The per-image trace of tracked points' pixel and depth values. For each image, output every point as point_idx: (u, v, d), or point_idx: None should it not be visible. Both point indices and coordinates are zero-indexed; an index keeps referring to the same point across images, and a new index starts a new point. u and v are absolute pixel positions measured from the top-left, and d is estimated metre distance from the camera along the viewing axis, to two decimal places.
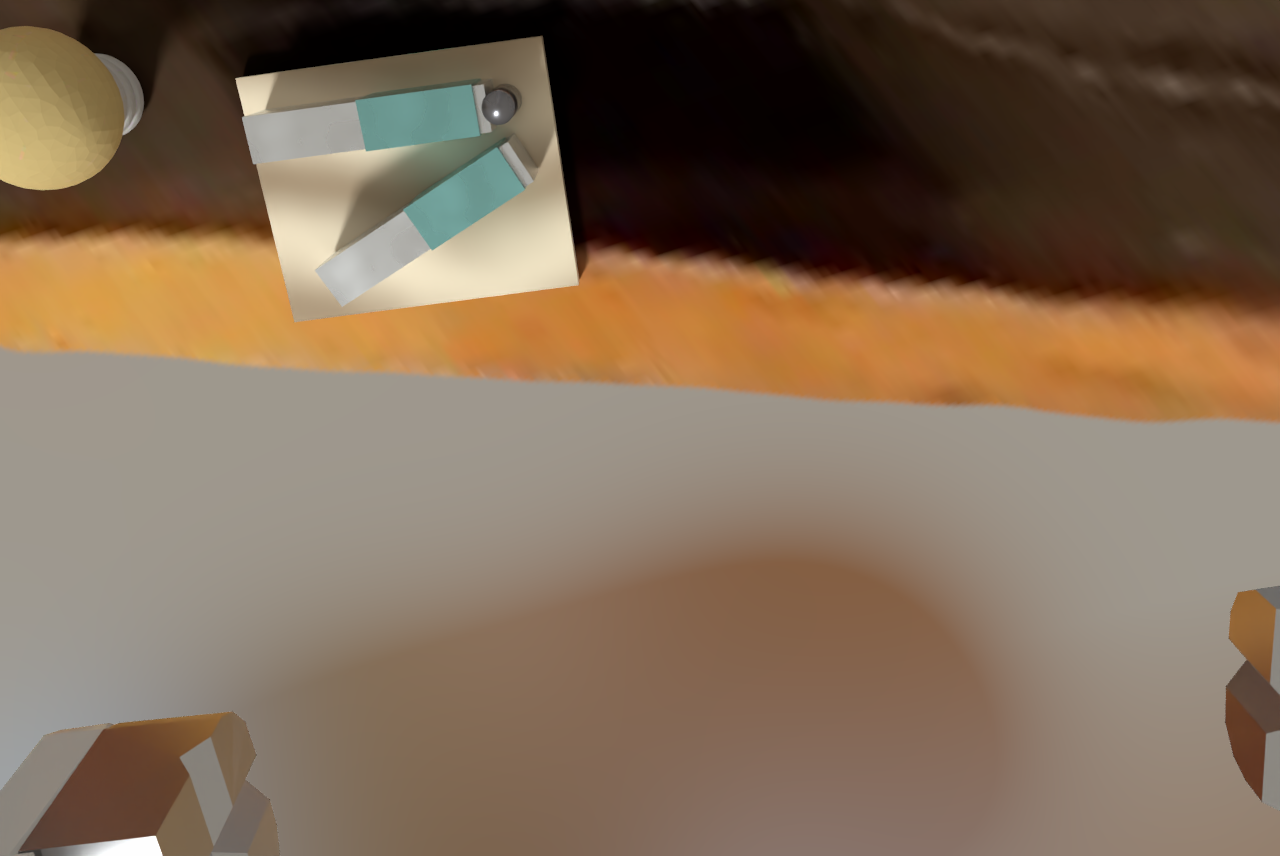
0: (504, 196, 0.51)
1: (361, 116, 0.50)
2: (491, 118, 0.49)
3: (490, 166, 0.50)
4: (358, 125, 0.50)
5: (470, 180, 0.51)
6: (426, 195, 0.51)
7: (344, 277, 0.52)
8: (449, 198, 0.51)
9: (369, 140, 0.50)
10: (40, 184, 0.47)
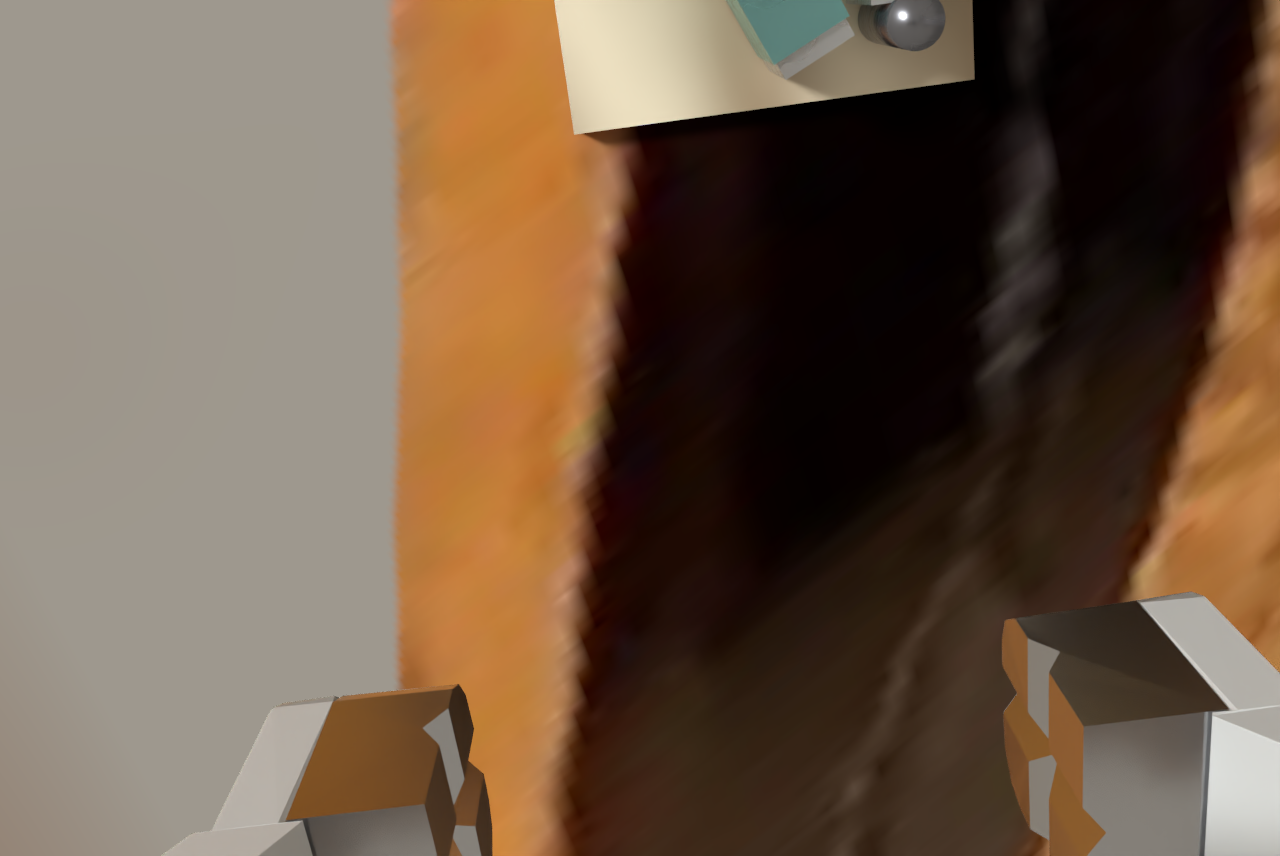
0: (763, 26, 0.29)
1: None
2: (901, 8, 0.29)
3: (817, 2, 0.29)
4: None
5: None
6: None
7: None
8: None
9: None
10: None
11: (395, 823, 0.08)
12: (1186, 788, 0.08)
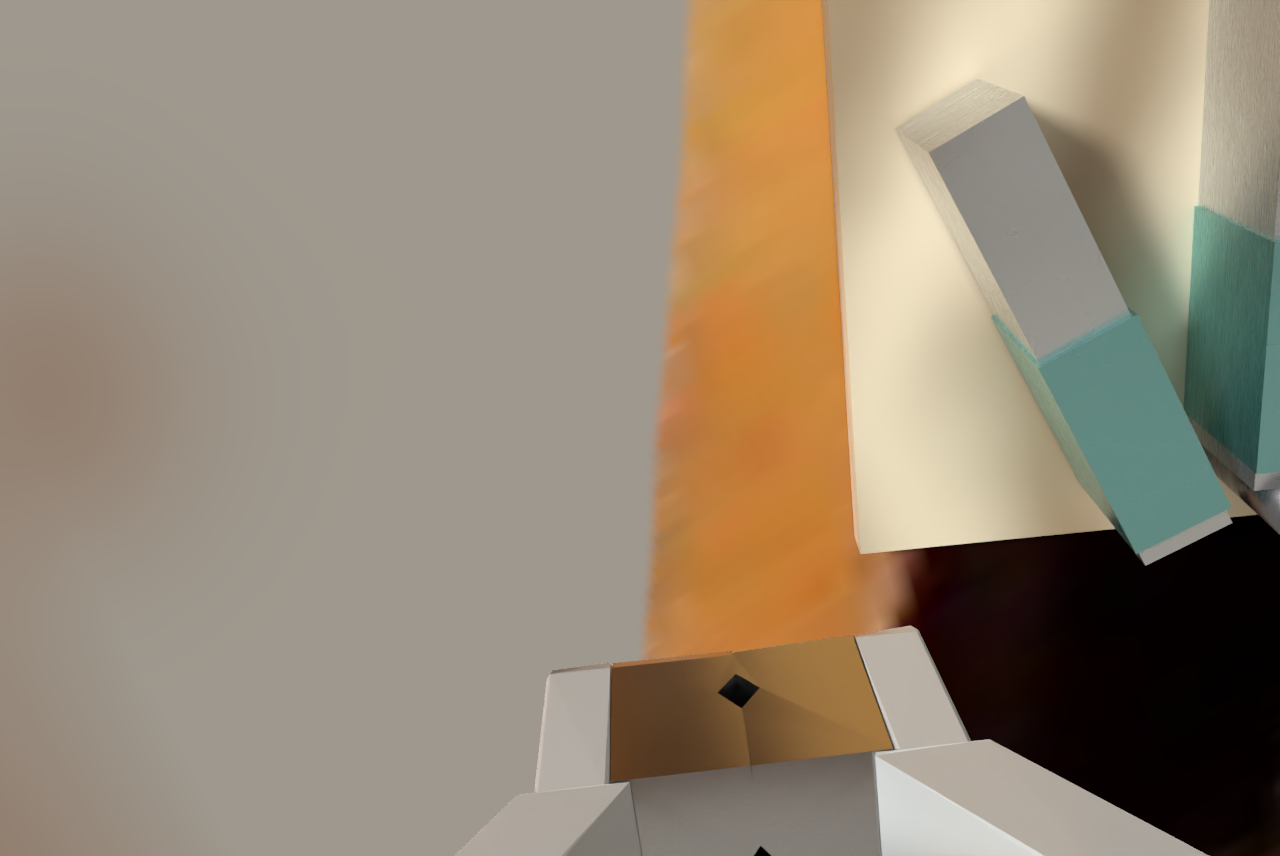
0: (1129, 516, 0.25)
1: None
2: None
3: (1195, 493, 0.25)
4: None
5: (1174, 454, 0.24)
6: (1159, 364, 0.24)
7: (999, 165, 0.22)
8: (1145, 411, 0.24)
9: None
10: None
11: (720, 786, 0.08)
12: (861, 825, 0.08)
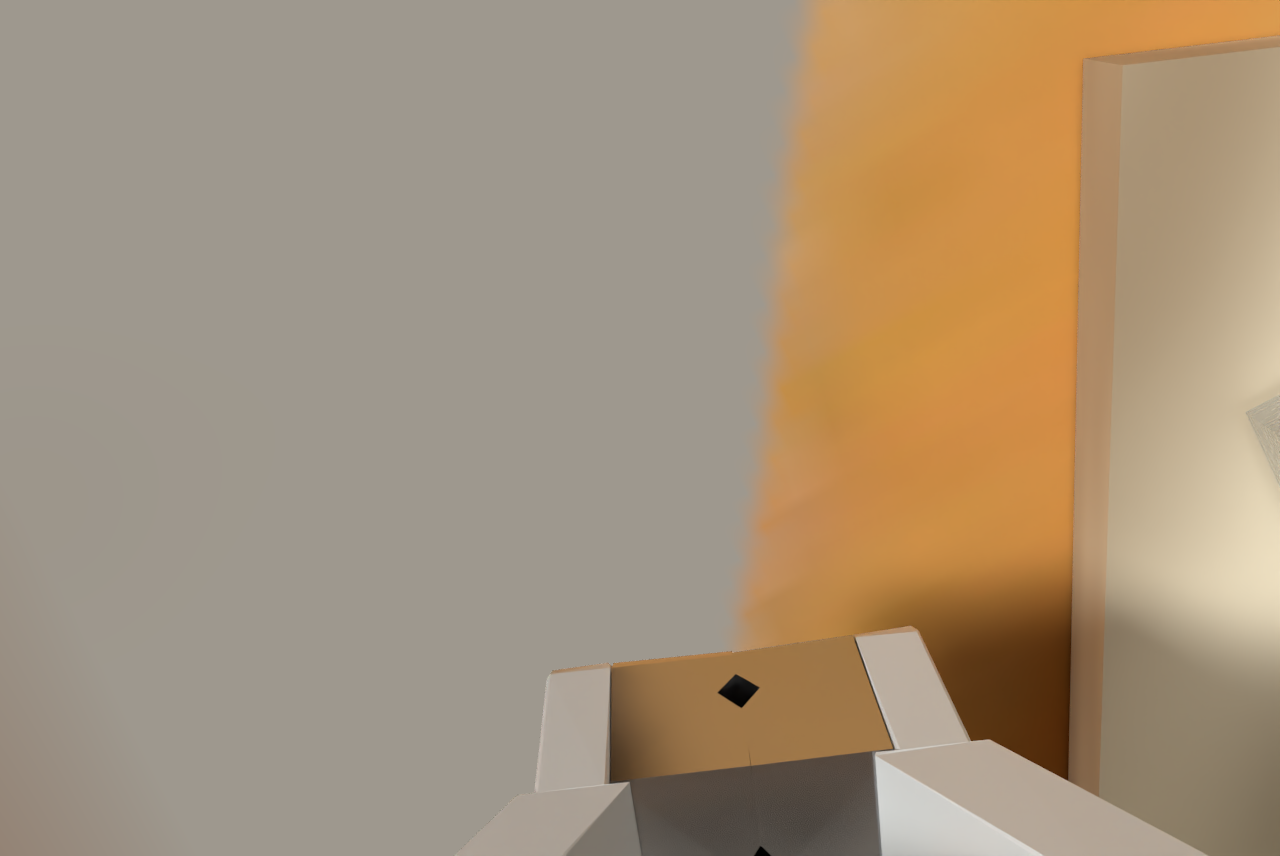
0: None
1: None
2: None
3: None
4: None
5: None
6: None
7: None
8: None
9: None
10: None
11: (720, 784, 0.08)
12: (860, 825, 0.08)
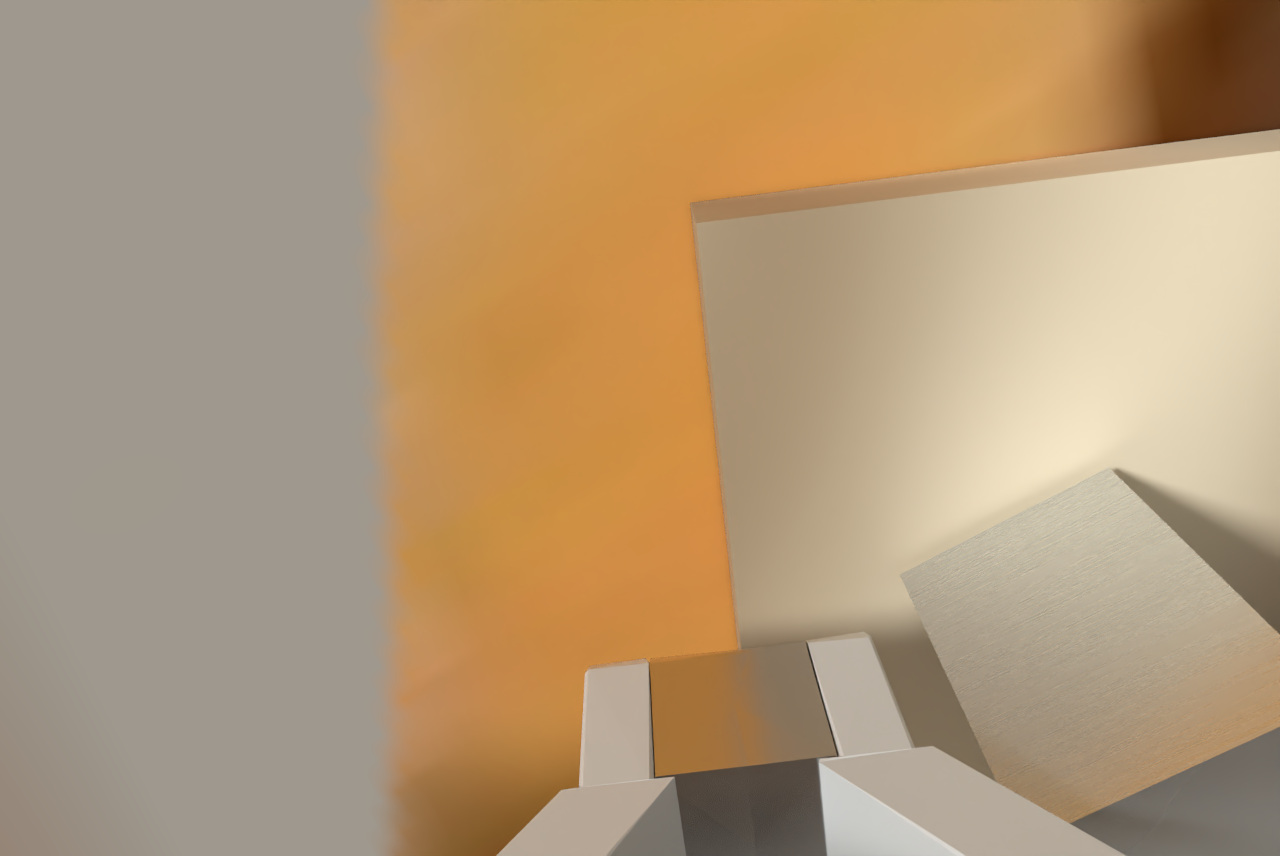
0: None
1: None
2: None
3: None
4: None
5: None
6: None
7: None
8: None
9: None
10: None
11: (765, 780, 0.08)
12: (806, 831, 0.08)
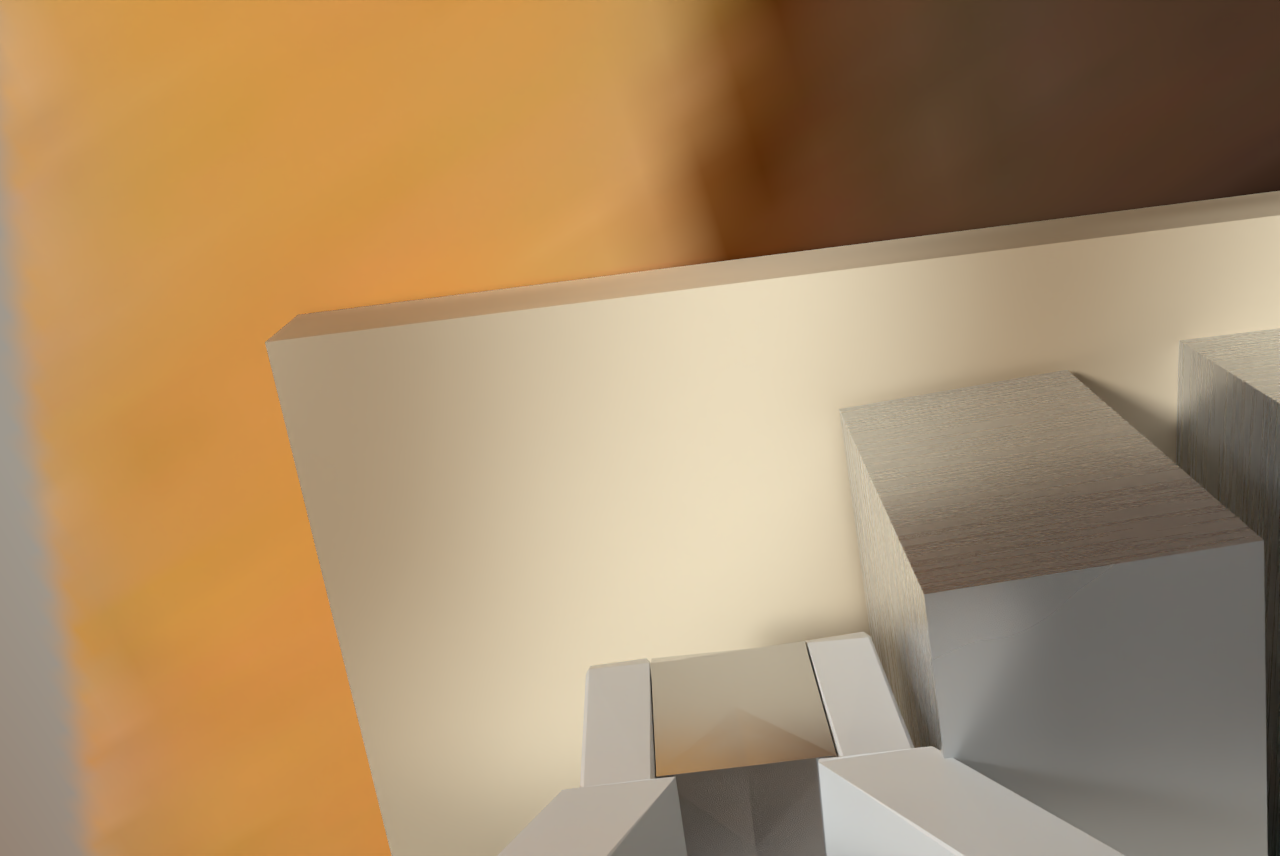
0: None
1: None
2: None
3: None
4: None
5: None
6: None
7: (1106, 698, 0.07)
8: None
9: None
10: None
11: (765, 780, 0.08)
12: (806, 831, 0.08)
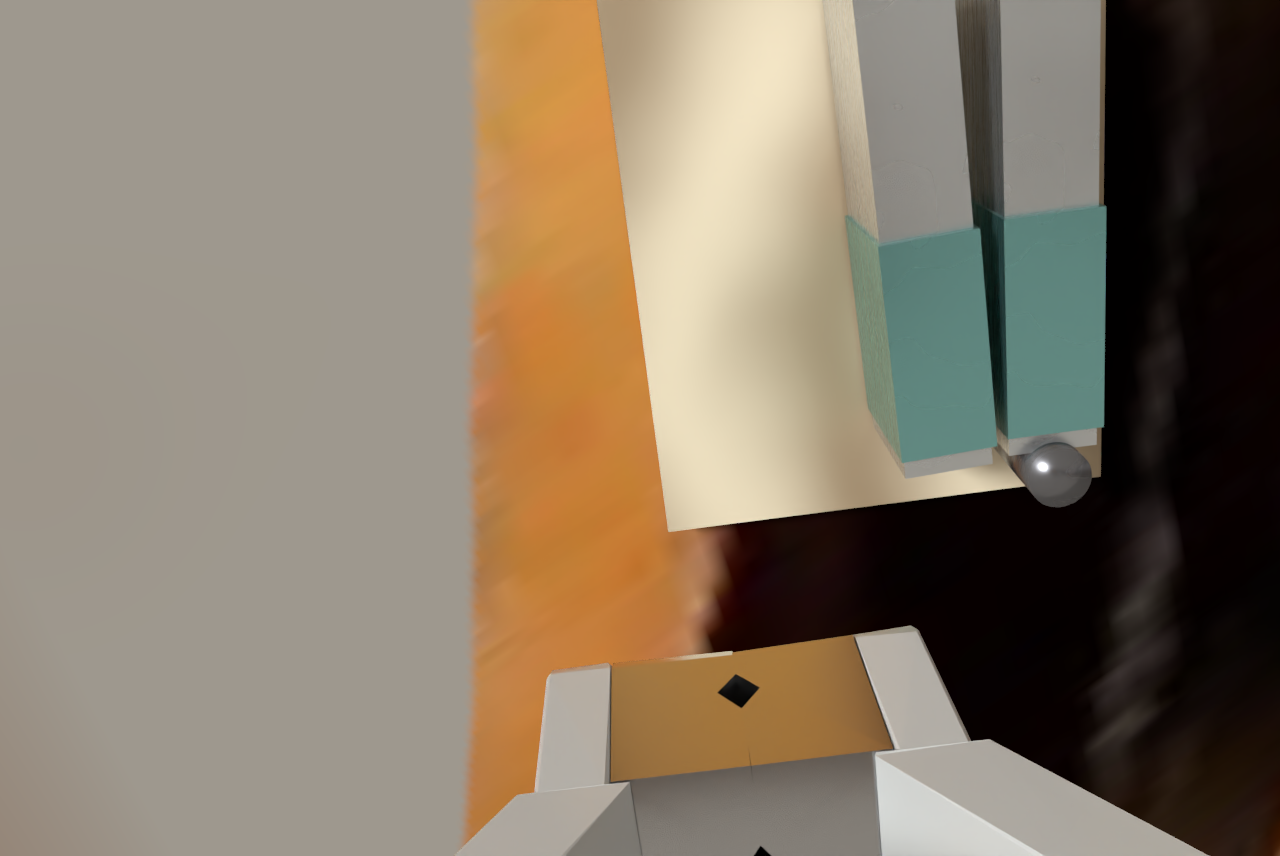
0: (908, 423, 0.26)
1: (1071, 215, 0.25)
2: (1044, 467, 0.26)
3: (971, 421, 0.26)
4: (1052, 205, 0.25)
5: (966, 376, 0.26)
6: (981, 284, 0.25)
7: (908, 35, 0.23)
8: (955, 325, 0.25)
9: (1024, 228, 0.25)
10: None
11: (720, 786, 0.08)
12: (861, 825, 0.08)
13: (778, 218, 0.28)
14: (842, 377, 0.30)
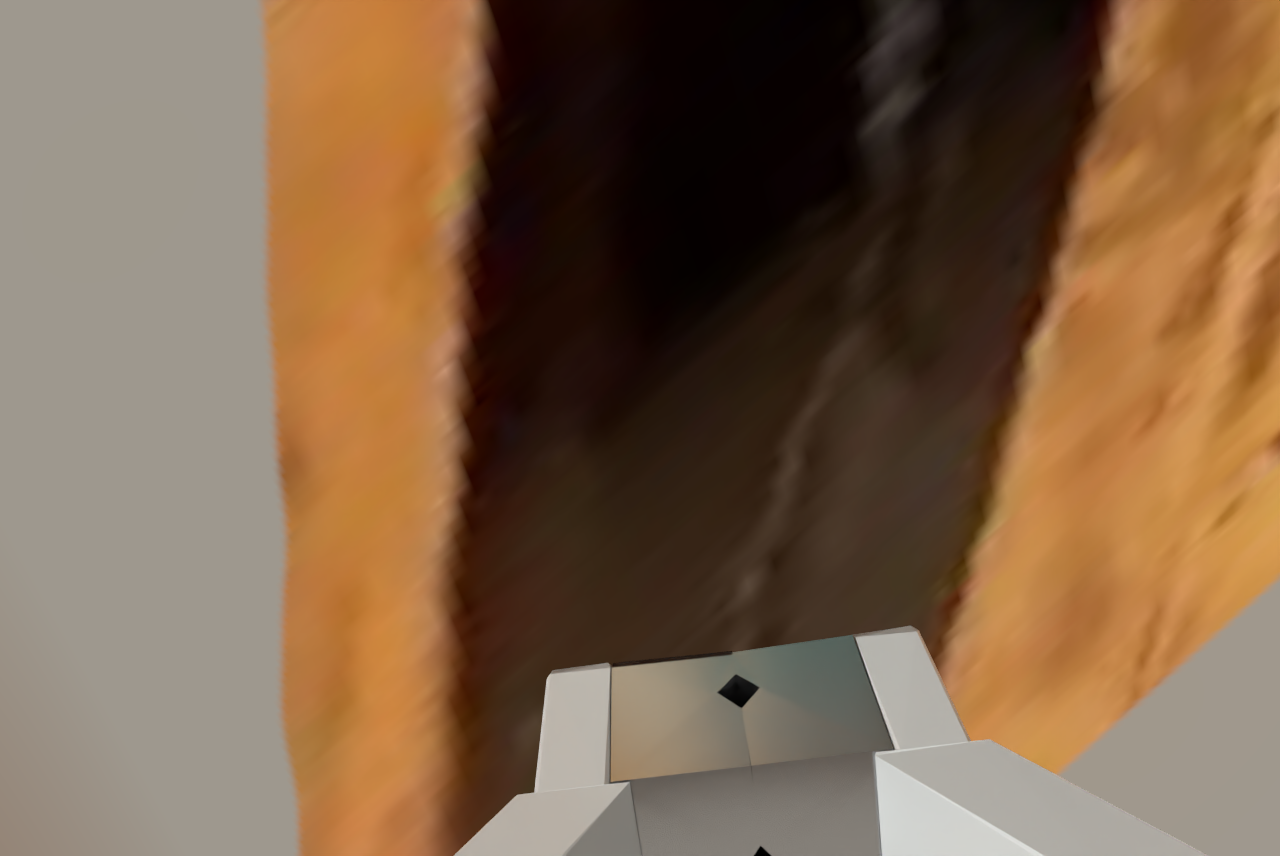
0: None
1: None
2: None
3: None
4: None
5: None
6: None
7: None
8: None
9: None
10: None
11: (718, 786, 0.08)
12: (860, 825, 0.08)
13: None
14: None
